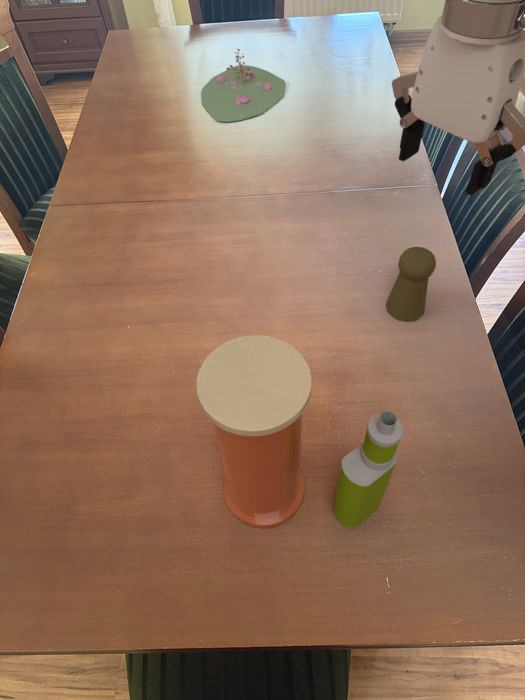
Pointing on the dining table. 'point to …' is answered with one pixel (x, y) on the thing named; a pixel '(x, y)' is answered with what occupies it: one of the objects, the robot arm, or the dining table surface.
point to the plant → (241, 92)
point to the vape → (367, 471)
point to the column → (258, 424)
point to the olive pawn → (411, 284)
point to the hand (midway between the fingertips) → (440, 172)
